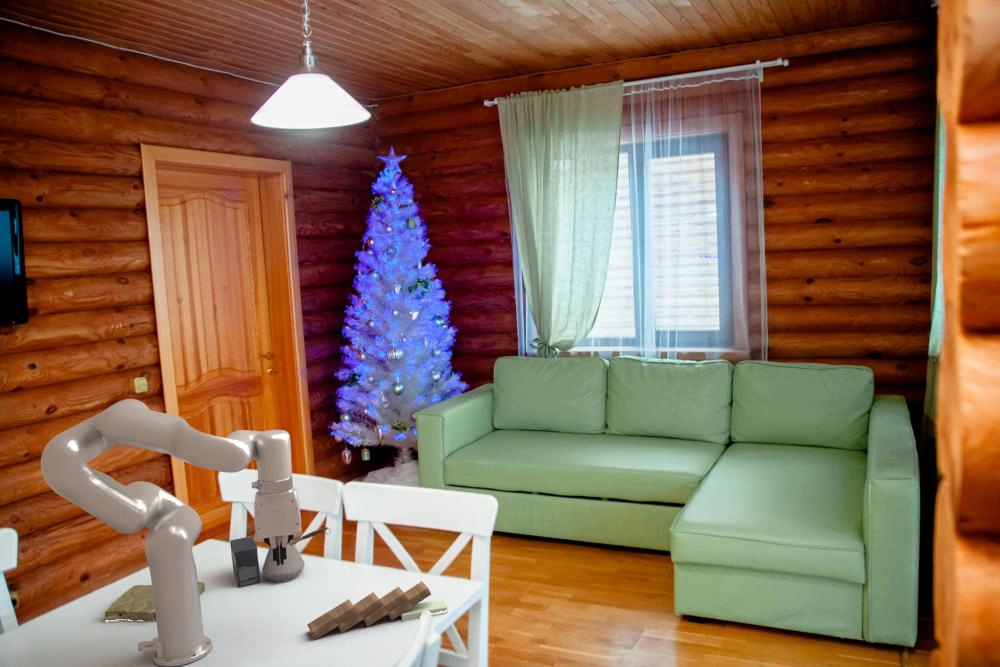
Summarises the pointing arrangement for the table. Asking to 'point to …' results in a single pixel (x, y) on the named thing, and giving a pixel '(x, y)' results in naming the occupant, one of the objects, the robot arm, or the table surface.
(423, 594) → the domino
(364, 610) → the domino
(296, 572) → the coffee pot
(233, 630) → the table surface
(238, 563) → the small box
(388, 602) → the domino
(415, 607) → the domino
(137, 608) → the decorative tile
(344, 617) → the domino
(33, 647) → the table surface
